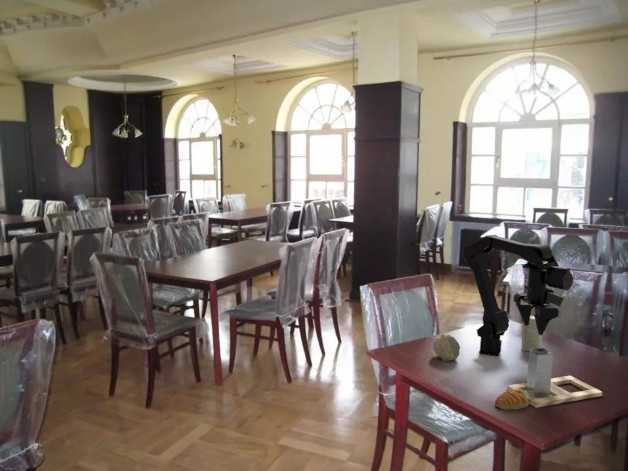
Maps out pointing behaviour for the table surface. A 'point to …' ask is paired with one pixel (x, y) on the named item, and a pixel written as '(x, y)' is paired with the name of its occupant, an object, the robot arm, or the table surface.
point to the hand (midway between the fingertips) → (533, 330)
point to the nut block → (539, 373)
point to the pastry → (512, 400)
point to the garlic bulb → (446, 347)
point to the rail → (559, 392)
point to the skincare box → (530, 336)
